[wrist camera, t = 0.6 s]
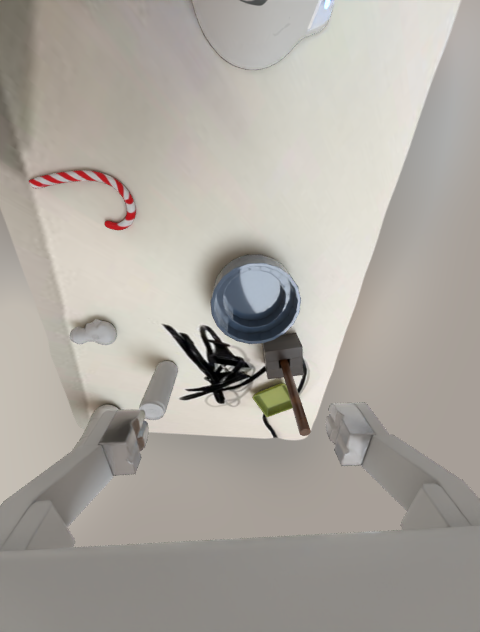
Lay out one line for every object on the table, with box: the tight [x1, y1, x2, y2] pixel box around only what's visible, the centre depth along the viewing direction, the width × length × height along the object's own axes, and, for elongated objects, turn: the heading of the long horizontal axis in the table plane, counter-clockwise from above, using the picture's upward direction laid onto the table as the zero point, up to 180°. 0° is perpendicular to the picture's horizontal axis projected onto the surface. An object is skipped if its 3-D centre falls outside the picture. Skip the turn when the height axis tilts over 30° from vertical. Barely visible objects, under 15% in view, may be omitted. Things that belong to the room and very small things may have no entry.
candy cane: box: [29, 170, 136, 230], centre depth 35 cm, size 8×1×15 cm
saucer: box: [253, 383, 292, 417], centre depth 56 cm, size 9×9×2 cm
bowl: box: [211, 255, 301, 344], centre depth 41 cm, size 15×15×6 cm
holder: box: [263, 333, 303, 379], centre depth 48 cm, size 7×7×5 cm
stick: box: [279, 359, 311, 436], centre depth 42 cm, size 2×2×20 cm
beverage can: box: [139, 361, 178, 420], centre depth 47 cm, size 5×5×12 cm
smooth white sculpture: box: [70, 319, 117, 345], centre depth 45 cm, size 4×8×5 cm
